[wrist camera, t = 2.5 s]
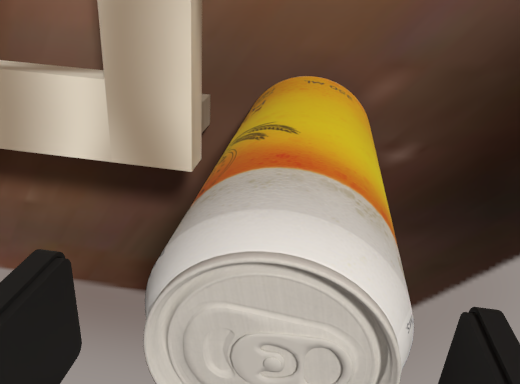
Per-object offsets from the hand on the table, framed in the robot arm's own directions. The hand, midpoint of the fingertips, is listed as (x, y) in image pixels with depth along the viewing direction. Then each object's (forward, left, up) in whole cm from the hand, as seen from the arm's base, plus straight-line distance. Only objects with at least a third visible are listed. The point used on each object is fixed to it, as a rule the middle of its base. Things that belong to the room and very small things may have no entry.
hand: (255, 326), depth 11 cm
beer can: (0, 0, -14) cm, 14 cm away
